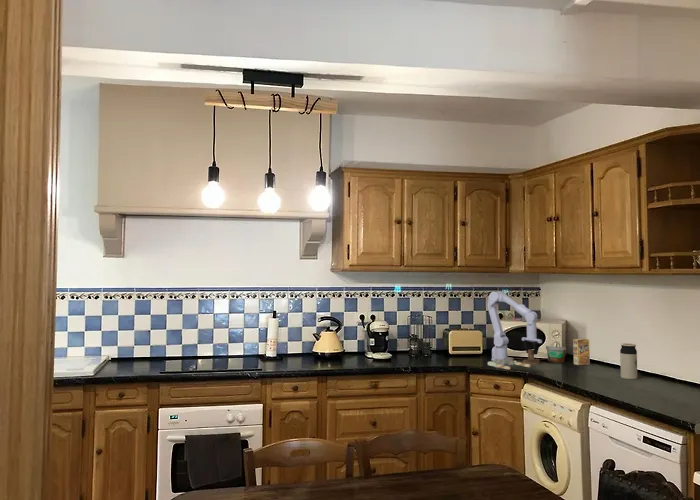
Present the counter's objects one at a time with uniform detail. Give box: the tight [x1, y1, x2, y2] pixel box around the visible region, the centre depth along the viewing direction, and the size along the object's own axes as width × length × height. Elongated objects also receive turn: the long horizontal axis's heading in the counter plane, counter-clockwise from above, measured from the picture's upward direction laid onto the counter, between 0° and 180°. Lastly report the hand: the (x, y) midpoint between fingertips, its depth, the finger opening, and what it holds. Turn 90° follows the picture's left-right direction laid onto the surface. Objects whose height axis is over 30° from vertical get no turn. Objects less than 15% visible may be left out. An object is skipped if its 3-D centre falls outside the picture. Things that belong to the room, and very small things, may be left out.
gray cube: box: [504, 356, 515, 366], centre depth 344 cm, size 4×4×4 cm
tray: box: [487, 360, 518, 368], centre depth 343 cm, size 7×17×2 cm, turn 118°
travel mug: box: [619, 342, 638, 380], centre depth 300 cm, size 8×8×18 cm
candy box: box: [572, 338, 591, 366], centre depth 343 cm, size 9×4×15 cm, turn 108°
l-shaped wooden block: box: [522, 349, 540, 366], centre depth 344 cm, size 2×12×9 cm, turn 118°
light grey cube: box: [494, 358, 505, 366], centre depth 341 cm, size 4×4×4 cm
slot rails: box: [495, 361, 531, 370], centre depth 335 cm, size 11×17×2 cm, turn 118°
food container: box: [545, 345, 567, 364], centre depth 351 cm, size 12×6×10 cm, turn 62°
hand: (531, 353), depth 344 cm, fingers open, 5 cm apart
